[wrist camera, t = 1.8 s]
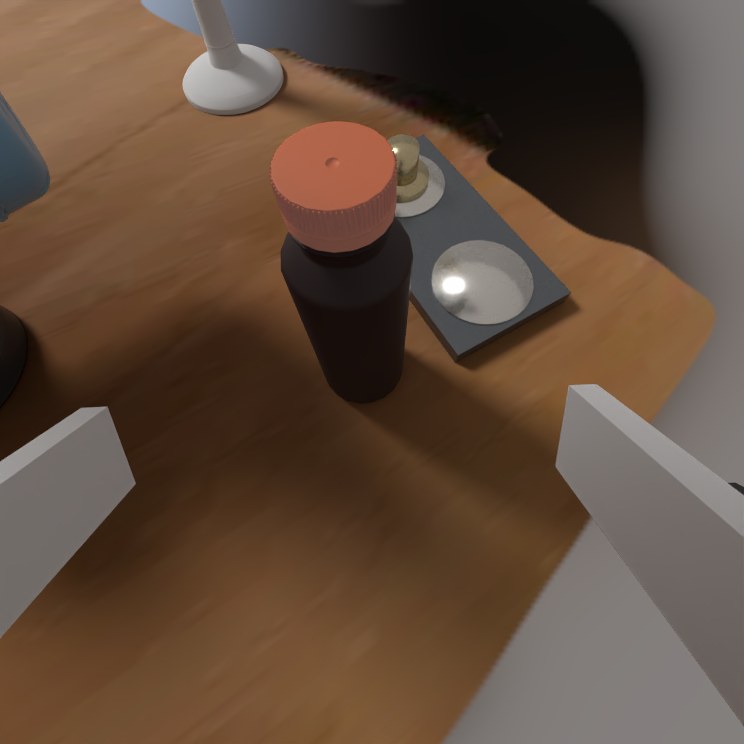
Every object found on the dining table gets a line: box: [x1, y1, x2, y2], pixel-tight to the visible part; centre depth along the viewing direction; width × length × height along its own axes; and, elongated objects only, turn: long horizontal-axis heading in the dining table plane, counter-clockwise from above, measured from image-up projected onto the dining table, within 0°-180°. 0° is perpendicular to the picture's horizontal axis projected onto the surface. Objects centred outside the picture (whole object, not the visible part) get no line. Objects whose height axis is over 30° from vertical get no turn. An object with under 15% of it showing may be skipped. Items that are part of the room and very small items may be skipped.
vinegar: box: [269, 121, 413, 403], centre depth 23 cm, size 7×7×20 cm
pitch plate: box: [388, 135, 571, 362], centre depth 35 cm, size 24×12×6 cm, turn 30°
